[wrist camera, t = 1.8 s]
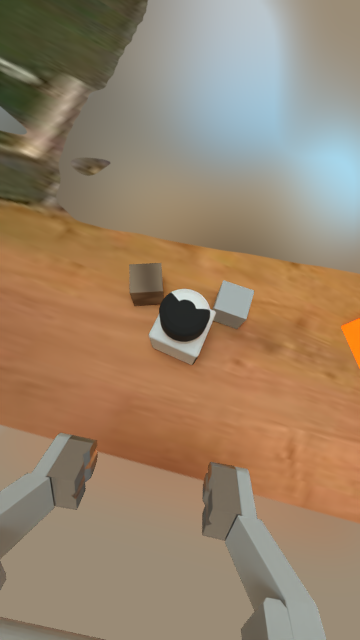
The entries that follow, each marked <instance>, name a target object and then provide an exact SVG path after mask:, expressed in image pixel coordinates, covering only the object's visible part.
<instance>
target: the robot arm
mask: <svg viewBox="0 0 360 640" xmlns="http://www.w3.org/2000/svg"><path fill="white" fill-rule="evenodd" d="M96 447H97V440H94V439H89V438H84V437H79V436H74V435H70V434H65V433H59V434H58V435H57V436H56V437H55V439H54V440H53V442H52V443H51V445H50V446H49V448H48V449H47V451H46V452H45V454H44V455H43V457H42V458H41V460H40V461H39V463H38V464H37V466H36V467H35V469H34V470H33V472H32V473H31V474H30V473H27V474H25V475H24V476H22V477H21V478H19V479H18V480H16V481H15V482H13V483H12V484H10V485H9V486H7V487H6V488H4V489H3V490H1V491H0V559H1V558H2V557H3V556H4V555H5V554H6V553H7V552H8V551H9V550H10V549H12V547H14V546H15V545H16V544H17V543H18V542H19V541H20V540H21V539H22V538H23V537H24V536H25V535H26V534H27V533H28V532H29V531H30V530H32V529H33V527H35V526H36V525H37V524H38V523H39V522H40V521H41V520H42V519H43V518H44V517H45V516H46V515H47V514H48V513H49V512H50V511H51V510H53V509H54V506H57V507H63V508H69V509H75V510H77V508H78V506H79V504H80V501H81V499H82V497H83V495H84V492H85V482H86V481H87V480H89V479H90V478H91V476H92V474H93V471H94V468H95V465H96V462H97V451H96V450H95V449H96ZM203 502H204V504H205V508H204V511H203V519H202V520H203V522H202V525H203V527H202V528H203V530H202V532H203V536H207V537H212V538H216V539H220V540H224V541H225V544H226V546H227V548H228V551H229V553H230V555H231V557H232V560H233V562H234V565H235V567H236V569H237V572H238V574H239V576H240V579H241V581H242V583H243V585H244V588H245V590H246V592H247V595H248V597H249V599H250V602H251V604H252V606H253V609H254V611H255V612H254V613H253V614H252V616H251V617H250V618H249V619H248V620H247V622H246V623H245V624H244V626H243V627H242V629H241V635H242V640H326V636H325V633H324V629H323V626H322V622H321V619H320V616H319V612H318V608H317V606H316V604H315V603H314V601H313V600H312V598H311V597H310V595H309V593H308V592H307V590H306V589H305V587H304V586H303V584H302V583H301V581H300V579H299V578H298V576H297V575H296V573H295V571H294V570H293V568H292V567H291V565H290V564H289V562H288V561H287V559H286V558H285V556H284V554H283V553H282V551H281V550H280V548H279V547H278V545H277V543H276V542H275V540H274V539H273V537H272V536H271V534H270V533H269V531H268V529H267V528H266V526H265V525H264V523H263V522H262V520H260V519H257V515H256V508H255V503H254V498H253V491H252V486H251V480H250V474H249V471H248V469H246V468H241V467H235V466H232V465H226V464H220V463H214V462H210V463H209V465H208V473H206V475H205V478H204V484H203ZM5 580H6V573H5V571H4V569H3V567H2V564H1V562H0V590H1V588H2V586H3V584H4V582H5ZM0 640H104V639H100V638H95V637H90V636H86V635H81V634H76V633H72V632H67V631H62V630H58V629H54V628H49V627H44V626H40V625H35V624H30V623H25V622H21V621H17V620H12V619H8V618H3V617H0Z"/></svg>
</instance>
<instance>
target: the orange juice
mask: <svg viewBox="0 0 360 640" xmlns="http://www.w3.org/2000/svg"><path fill="white" fill-rule="evenodd" d="M341 328H342V330H343V332H344V335H345V337H346V339H347V341H348V344H349V346H350V348H351V350H352V352H353V355H354V357H355V359H356V361H357V363H358V366H359V368H360V318H359V319H357V320H354V321H352V322H350V323H348V324H345V325H343V326H341Z"/></svg>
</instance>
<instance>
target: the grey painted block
mask: <svg viewBox="0 0 360 640" xmlns="http://www.w3.org/2000/svg"><path fill="white" fill-rule="evenodd" d="M253 294H254V291H253V290H251V289H248V288H245V287H242V286H239V285H236V284H233V283H230V282H227V281H224V280H223V283H222V285H221V287H220V290H219V292H218V294H217V297H216V300H215V303H214V306H213V309H212V310H214V311H215V312H216V315H215V317H214V319H213V321H216V322H219V323H221V324H224V325H227V326H230V327H233V328H235V329H238V328H239V327H240V326H241V324H242V323H243V322H244V321H245V320H246V319H247V315H248V312H249V308H250V304H251V301H252V297H253Z"/></svg>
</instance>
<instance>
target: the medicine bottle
mask: <svg viewBox="0 0 360 640" xmlns="http://www.w3.org/2000/svg"><path fill="white" fill-rule="evenodd" d="M215 315H216V312H215V311H214V310H211V309H210V307H209V305H208V302H207V301H206V299H205V298H204V297H203V296H202V295H201V294H199V293H198V292H196V291H193V290H190V289H179V290H175V291H173V292H171V293H169V294H168V295H167V296H166V297H165V298H164V299H163V301H162V302H161V305H160V308H159V315H158V317H157V319H156V321H155V323H154V325H153V327H152V329H151V331H150V333H149V338H150V341H151V344H152V346H153V348H155V349H157V350H159V351H161V352H163V353H166V354H168V355H170V356H172V357H175V358H177V359H179V360H181V361H184V362H186V363H188V364H190V365H193V364H194V362H195V361H196V359H197V357H198V355H199V353H200V351H201V348H202V346H203V343H204V341H205V339H206V336H207V334H208V331H209V329H210V327H211V324H212V322H213V319H214V317H215Z"/></svg>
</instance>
